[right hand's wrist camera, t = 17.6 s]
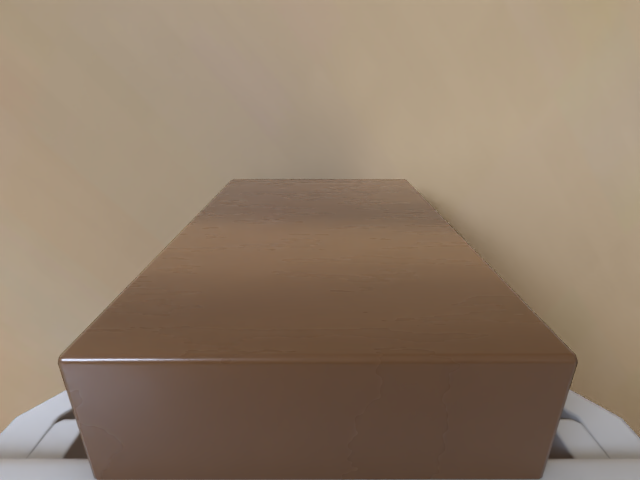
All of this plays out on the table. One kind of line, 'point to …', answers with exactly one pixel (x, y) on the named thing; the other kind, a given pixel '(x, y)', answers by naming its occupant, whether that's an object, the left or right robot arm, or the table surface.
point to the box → (317, 348)
